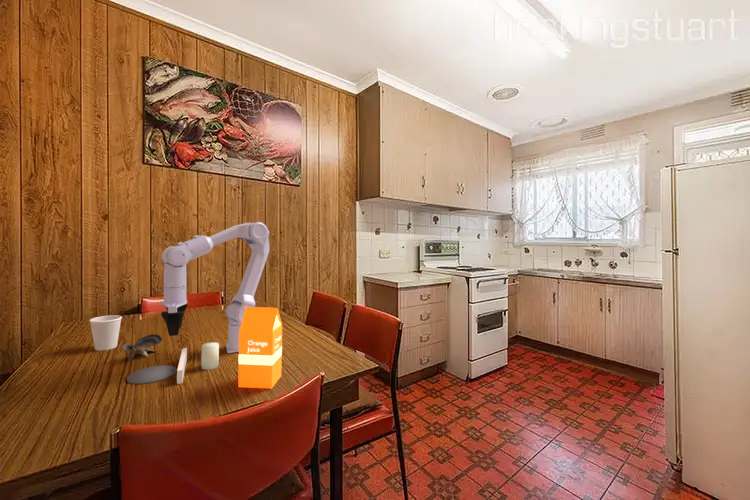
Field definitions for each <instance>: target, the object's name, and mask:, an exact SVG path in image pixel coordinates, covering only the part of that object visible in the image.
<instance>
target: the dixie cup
mask: <svg viewBox="0 0 750 500" xmlns="http://www.w3.org/2000/svg"><path fill="white" fill-rule="evenodd" d="M122 318H123V316H121V315H113V314H112V315H111V314H109V315H101V316H97V317H93V318H90V319H89V322H90V329H91V333H92V340H93V345H94V346H93V347H94V350H95V351H97V352H99V351H100V352H101V351H107V350H108V351H109V350H112V349H115V348H117V346H118V341H119V334H120V329H121V321H122Z"/></svg>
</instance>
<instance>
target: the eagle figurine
mask: <svg viewBox="0 0 750 500" xmlns="http://www.w3.org/2000/svg"><path fill="white" fill-rule="evenodd" d="M162 341H163V337H162V336H161V335H159V334H148V335H146V336H144V337H141V338H138V339H137V341H136V342H135V343H134V344H133V345H132V344H131V343H129V342H128V343H125V344H123V345H122V346H121V347H122V348H121V349H122V350H124V351H125V352H126V353H125V355H126V356H129V359H128V361H129V362H130V361H132V359H134V358H135V355H137V354H139V355H142V356H145V357H146V358H148V357H149V354H148V353H147V352H157V351H156V350H152V349H151V348H149V347H153V346H156V345H159V344H161V342H162ZM128 352H129V353H128Z"/></svg>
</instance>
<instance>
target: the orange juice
mask: <svg viewBox="0 0 750 500" xmlns="http://www.w3.org/2000/svg"><path fill="white" fill-rule="evenodd" d="M282 354H283V323H282V319H281V316H280V312H279V308H278V307H262V306H255V307H246V309H245V313H244V316H243V320H242V323H241V327H240V330H239V352H238V382H237V383H238V387H237V388H250V389H251V388H252V389H271V390H272V389H273V387H275V385H276V383H277V382H278V381H279V379H281V377H282V363H283V361H282V359H283V357H282Z"/></svg>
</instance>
